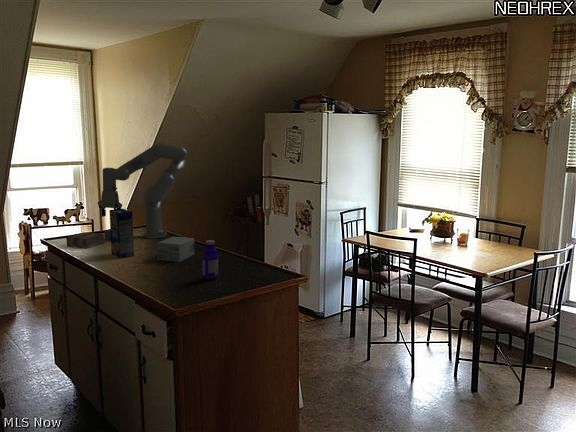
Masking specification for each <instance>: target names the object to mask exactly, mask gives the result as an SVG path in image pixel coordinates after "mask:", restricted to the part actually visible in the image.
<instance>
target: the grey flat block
mask: <svg viewBox="0 0 576 432" xmlns="http://www.w3.org/2000/svg"><path fill="white" fill-rule="evenodd" d="M65 238H66V247H69V248H75V249H76V248H77V249H83V248H84V249H91V248H94V247H97V246H101V245H103V244H104V243H105V236H104V233H97V232H96V233H95V232H85V231H83V232H79V233H75V234H71V235H68V236H65Z"/></svg>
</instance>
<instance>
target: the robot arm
mask: <svg viewBox="0 0 576 432" xmlns="http://www.w3.org/2000/svg"><path fill="white" fill-rule="evenodd" d="M187 158H188V151H187V149H185V147H182V146H176V145H171V144H165V143H163V142H162V143H161V142H159V143H154V144H153V145H152V146H151V147H149V148H148V149H145V150H144V151H143V152H140V153H139V154H138V155H136V156H135V157H133V158H132V159H129V160H128V161H127V162H125V163H124V164H121V165H120V166H119V167H117V168H115V167H104V168H102V191H101V199H100V200H99V201H98V202H97V205H98V208H99V210H100V211H101V213H100V215H101V217H102V218H103V217H106V216H107V210H106V208H108V209H113V210H114V209H122V207H123V203H122V202H120V197H119V191H117V190H118V187H117V181H124V182H125V181H127V180H129V179H130V176H131V175H132V174H134V173H135V172H138V171H139V170H143V169H145V168H147V167H150V166H151V165H152V164H153V163H155V162H157V161H158V160H160V159H165V160H169V161H170V160H171V162H170V164H169V165H168V166H167V168H166V169H164V171H163V172H162V173H161V174H160V175H158V177H157V180H156V182H155V183H154V185H153V184H152V185H149V186H147V187H146V188H145V190H144V194H143V195H144V196H143V197H144V205H145V229H146V233H145V234H144V235H143V238H146V239H160V238H161V239H162V238H164V237H166V236H167V233H168V231H165V230H164V228H163V220H162V219H163V217H162V216H163V214H162V200H163V199H164V198H165V197H166V196H167V195H168V194H169V193H170V192H171V191H172V190H173V189H174V187H175V185H176V180H177V178H179V176H180V175H181V174H182V173H183V171H184V170H185V167H186V162H187V161H186V159H187Z"/></svg>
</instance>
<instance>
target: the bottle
mask: <svg viewBox="0 0 576 432" xmlns="http://www.w3.org/2000/svg"><path fill="white" fill-rule="evenodd" d="M217 253H218V252H217V248H216V242H215V240H213V239H211V240H210V239H209V240H205V246H204V250H203V254H202V260H201V261H202V274H201V275H202V278H203V279H204V278H205V279H204V280H206V279H212V278H216V277H217V278H218V277H219V256H218V254H217ZM217 278H216V279H217Z"/></svg>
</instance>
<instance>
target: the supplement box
mask: <svg viewBox="0 0 576 432" xmlns="http://www.w3.org/2000/svg"><path fill="white" fill-rule="evenodd" d="M192 255H193V256H194V255H195V237H184V236H183V237H182V236H172V237H169V238H166V239H164V240H161V241H158V242H156V259H157V260H158V261H164V262H168V261H169V262H175V263H180V262H183V261H185V260H187V259H189V258H190V257H193V256H192Z"/></svg>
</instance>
